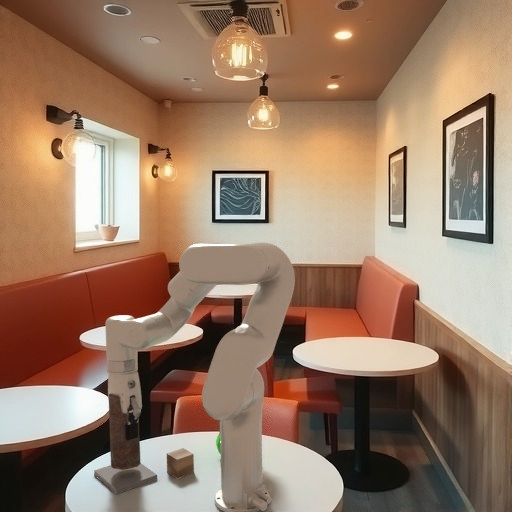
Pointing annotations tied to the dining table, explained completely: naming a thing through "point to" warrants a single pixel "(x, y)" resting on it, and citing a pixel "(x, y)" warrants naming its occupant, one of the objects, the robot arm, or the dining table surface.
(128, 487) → the slate board
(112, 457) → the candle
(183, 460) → the walnut block
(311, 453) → the dining table surface
